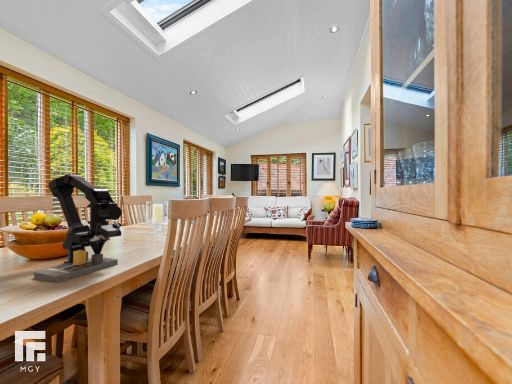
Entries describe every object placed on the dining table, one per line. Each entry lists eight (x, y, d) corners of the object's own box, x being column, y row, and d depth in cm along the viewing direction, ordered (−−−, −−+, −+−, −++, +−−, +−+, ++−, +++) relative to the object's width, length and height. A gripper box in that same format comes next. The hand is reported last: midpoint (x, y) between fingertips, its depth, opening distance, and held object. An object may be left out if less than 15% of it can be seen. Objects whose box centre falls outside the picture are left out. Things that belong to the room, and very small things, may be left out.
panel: (34, 277, 90) (34, 261, 90) (97, 260, 113) (97, 248, 113) (56, 282, 86) (56, 265, 86) (117, 263, 108) (117, 250, 108)
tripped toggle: (73, 264, 98) (73, 251, 98) (80, 262, 101) (81, 249, 101) (78, 265, 97) (78, 252, 97) (86, 263, 100) (86, 250, 100)
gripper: (90, 222, 95) (89, 264, 95) (131, 217, 112) (130, 253, 112) (70, 220, 99) (69, 260, 99) (112, 216, 116) (111, 250, 116)
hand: (97, 256), depth 106 cm, fingers closed
